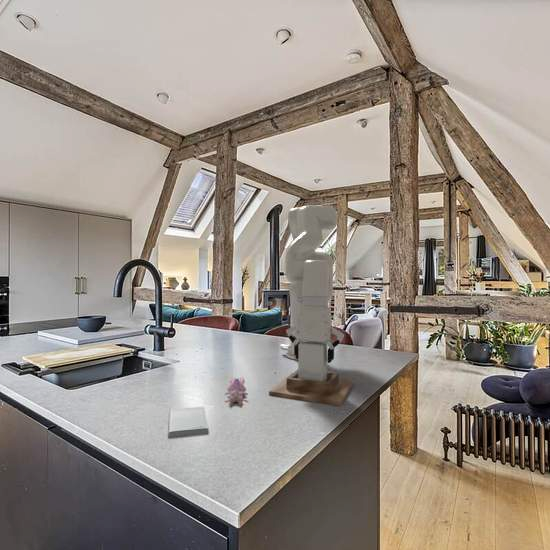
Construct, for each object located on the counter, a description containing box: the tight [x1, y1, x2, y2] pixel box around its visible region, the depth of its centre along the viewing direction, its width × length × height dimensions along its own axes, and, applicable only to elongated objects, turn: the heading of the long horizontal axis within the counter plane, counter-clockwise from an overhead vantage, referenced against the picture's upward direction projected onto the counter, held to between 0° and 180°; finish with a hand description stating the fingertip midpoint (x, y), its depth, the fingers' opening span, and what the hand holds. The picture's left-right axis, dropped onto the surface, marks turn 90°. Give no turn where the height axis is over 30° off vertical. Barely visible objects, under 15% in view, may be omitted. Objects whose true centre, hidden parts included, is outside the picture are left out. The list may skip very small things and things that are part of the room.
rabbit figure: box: [224, 376, 249, 407], centre depth 98 cm, size 6×6×15 cm
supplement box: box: [297, 341, 328, 382], centre depth 105 cm, size 7×7×13 cm
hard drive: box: [168, 406, 210, 438], centre depth 80 cm, size 2×8×12 cm
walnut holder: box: [268, 369, 354, 407], centre depth 105 cm, size 20×20×4 cm
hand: (313, 359), depth 105 cm, fingers open, 9 cm apart
